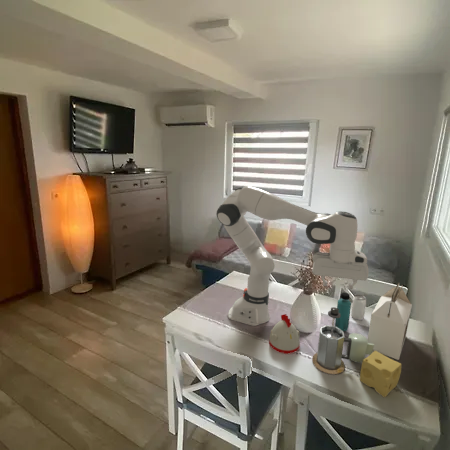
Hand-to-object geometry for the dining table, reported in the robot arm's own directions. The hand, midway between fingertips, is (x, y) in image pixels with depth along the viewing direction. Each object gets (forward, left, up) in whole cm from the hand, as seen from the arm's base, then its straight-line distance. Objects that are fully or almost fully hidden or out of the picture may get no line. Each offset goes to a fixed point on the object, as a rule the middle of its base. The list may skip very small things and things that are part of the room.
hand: (337, 287), depth 115 cm
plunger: (0, 0, -22) cm, 22 cm away
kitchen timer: (-19, +8, -36) cm, 41 cm away
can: (+18, +42, -36) cm, 58 cm away
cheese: (+18, -6, -36) cm, 40 cm away
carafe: (0, 0, -35) cm, 35 cm away
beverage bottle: (+8, +27, -36) cm, 45 cm away
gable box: (+28, +23, -36) cm, 51 cm away
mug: (+13, +8, -35) cm, 39 cm away
